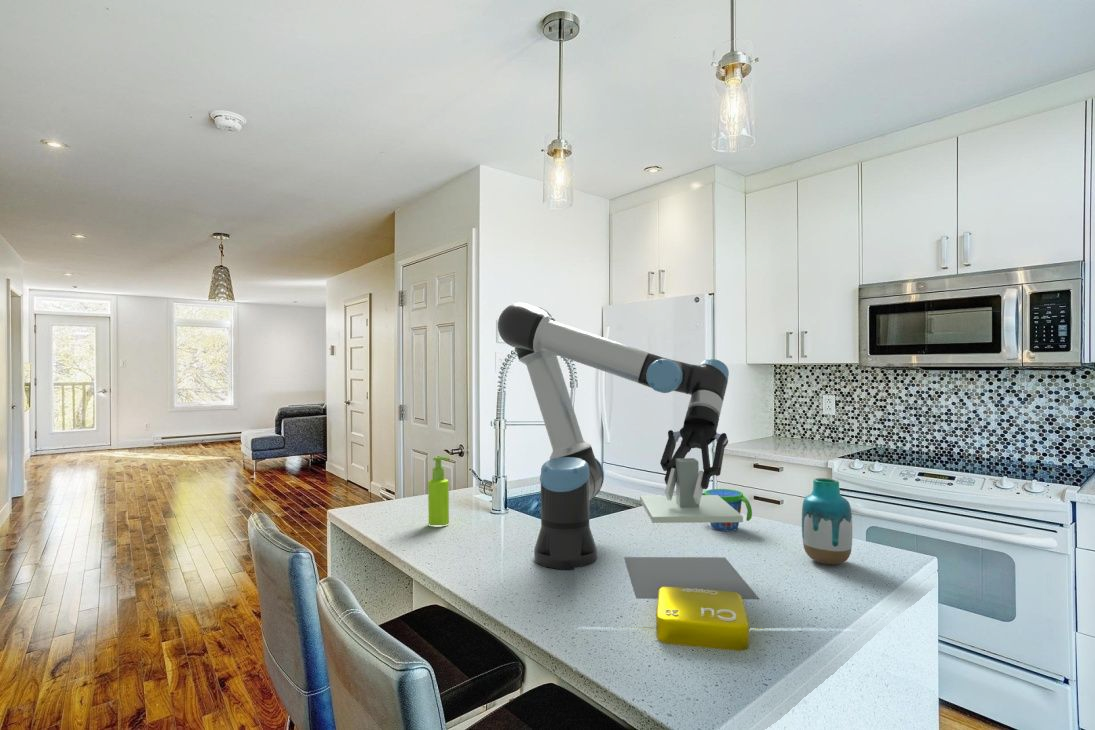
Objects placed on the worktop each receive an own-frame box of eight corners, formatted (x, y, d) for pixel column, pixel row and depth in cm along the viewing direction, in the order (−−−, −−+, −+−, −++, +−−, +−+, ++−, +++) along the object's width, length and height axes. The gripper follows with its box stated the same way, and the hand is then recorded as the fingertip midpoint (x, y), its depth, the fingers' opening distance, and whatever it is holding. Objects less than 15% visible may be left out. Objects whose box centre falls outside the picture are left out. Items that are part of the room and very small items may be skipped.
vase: (851, 558, 133) (850, 477, 133) (854, 573, 123) (853, 486, 124) (802, 552, 138) (801, 474, 138) (801, 566, 128) (800, 482, 128)
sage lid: (652, 522, 112) (651, 468, 112) (640, 500, 130) (639, 453, 130) (742, 522, 112) (742, 467, 112) (717, 500, 130) (717, 452, 130)
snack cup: (690, 525, 162) (689, 490, 162) (711, 519, 168) (711, 485, 169) (738, 538, 150) (738, 499, 150) (759, 530, 156) (759, 494, 156)
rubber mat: (636, 600, 110) (636, 598, 110) (623, 558, 134) (623, 557, 134) (759, 600, 109) (759, 598, 109) (725, 559, 133) (725, 557, 133)
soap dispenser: (450, 527, 162) (449, 458, 162) (426, 527, 162) (426, 458, 162) (454, 522, 168) (453, 455, 168) (431, 522, 168) (430, 455, 168)
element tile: (740, 614, 104) (740, 588, 104) (750, 654, 90) (750, 624, 90) (659, 607, 108) (658, 582, 108) (655, 645, 93) (655, 616, 93)
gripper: (746, 426, 129) (730, 513, 115) (669, 422, 139) (645, 503, 125) (740, 404, 125) (723, 493, 111) (661, 402, 134) (635, 484, 120)
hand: (682, 498), depth 118 cm, fingers closed on sage lid, 5 cm apart
